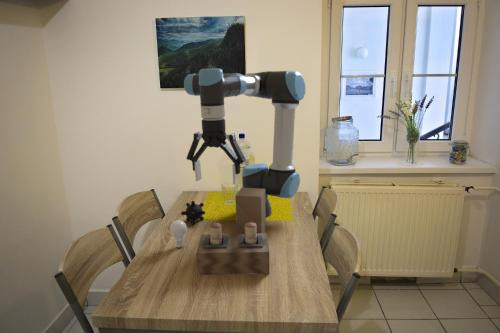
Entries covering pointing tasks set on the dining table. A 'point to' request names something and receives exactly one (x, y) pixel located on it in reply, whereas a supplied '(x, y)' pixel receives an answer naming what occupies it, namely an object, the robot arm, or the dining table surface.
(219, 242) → the peg
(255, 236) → the peg
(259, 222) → the wooden block
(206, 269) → the socket block
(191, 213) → the toy ball
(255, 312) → the dining table surface
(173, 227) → the lightbulb
